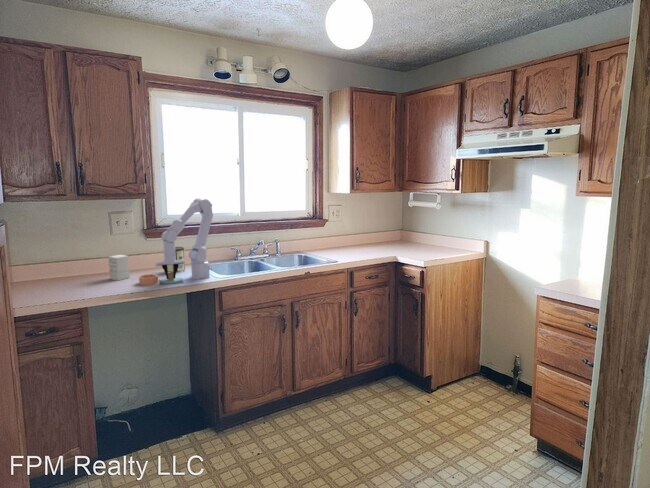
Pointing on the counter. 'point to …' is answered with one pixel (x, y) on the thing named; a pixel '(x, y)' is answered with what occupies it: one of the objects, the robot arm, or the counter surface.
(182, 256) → the coffee can
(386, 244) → the counter surface
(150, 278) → the bowl
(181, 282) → the mat
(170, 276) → the lid
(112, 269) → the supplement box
